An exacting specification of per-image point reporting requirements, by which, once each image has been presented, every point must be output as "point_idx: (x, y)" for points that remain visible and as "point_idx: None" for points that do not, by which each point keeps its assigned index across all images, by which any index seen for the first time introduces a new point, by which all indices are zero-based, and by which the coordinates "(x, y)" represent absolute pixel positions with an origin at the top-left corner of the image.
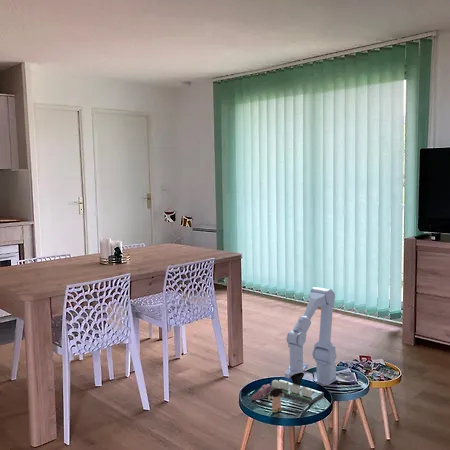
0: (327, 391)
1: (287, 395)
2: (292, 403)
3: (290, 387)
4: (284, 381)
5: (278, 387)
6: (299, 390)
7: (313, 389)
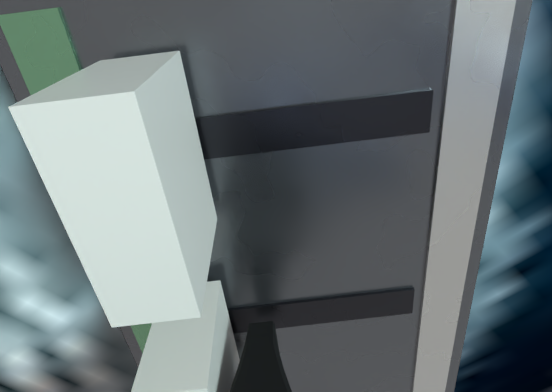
0: (544, 389)
1: None
2: (67, 370)
3: (151, 356)
4: (132, 255)
5: (136, 4)
6: (315, 319)
7: (455, 379)
